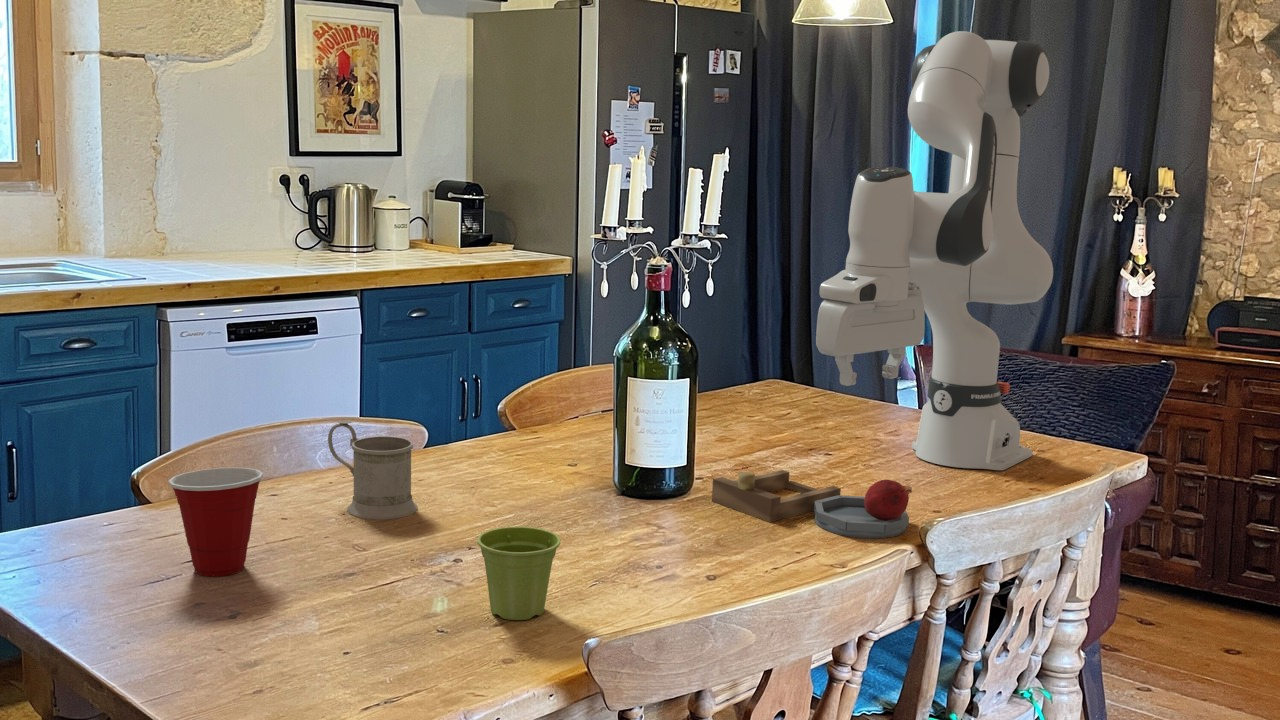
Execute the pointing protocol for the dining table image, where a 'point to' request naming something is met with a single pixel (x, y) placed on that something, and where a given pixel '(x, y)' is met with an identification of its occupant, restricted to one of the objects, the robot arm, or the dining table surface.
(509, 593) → the plant pot
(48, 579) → the dining table surface
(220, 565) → the plastic cup
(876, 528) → the saucer
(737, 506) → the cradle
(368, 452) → the mug
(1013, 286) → the robot arm
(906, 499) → the onion
